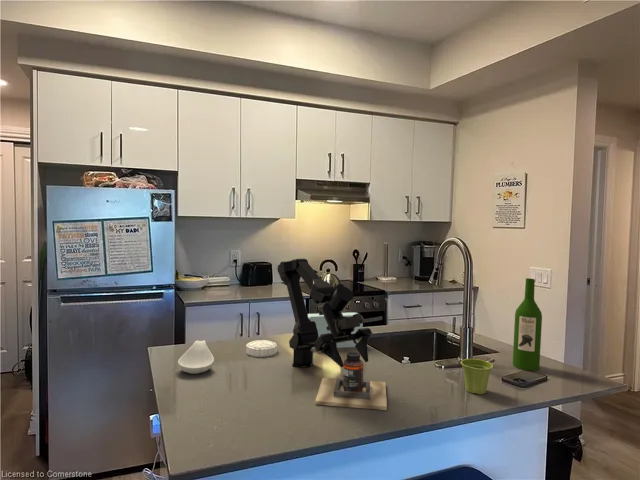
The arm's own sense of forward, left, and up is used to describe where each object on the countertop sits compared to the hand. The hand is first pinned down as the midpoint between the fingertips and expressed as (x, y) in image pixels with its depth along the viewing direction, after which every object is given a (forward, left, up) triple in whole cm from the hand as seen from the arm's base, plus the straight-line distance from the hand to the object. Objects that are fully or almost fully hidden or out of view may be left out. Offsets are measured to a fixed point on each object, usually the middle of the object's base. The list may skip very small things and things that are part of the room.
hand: (355, 364), depth 127 cm
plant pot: (+37, +11, -10) cm, 40 cm away
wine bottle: (+61, +38, -10) cm, 73 cm away
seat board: (-1, +1, -9) cm, 10 cm away
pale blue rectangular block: (-11, +48, -10) cm, 50 cm away
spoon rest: (-56, +16, -10) cm, 59 cm away
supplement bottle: (-1, +1, -9) cm, 9 cm away
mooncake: (-38, +35, -10) cm, 52 cm away
